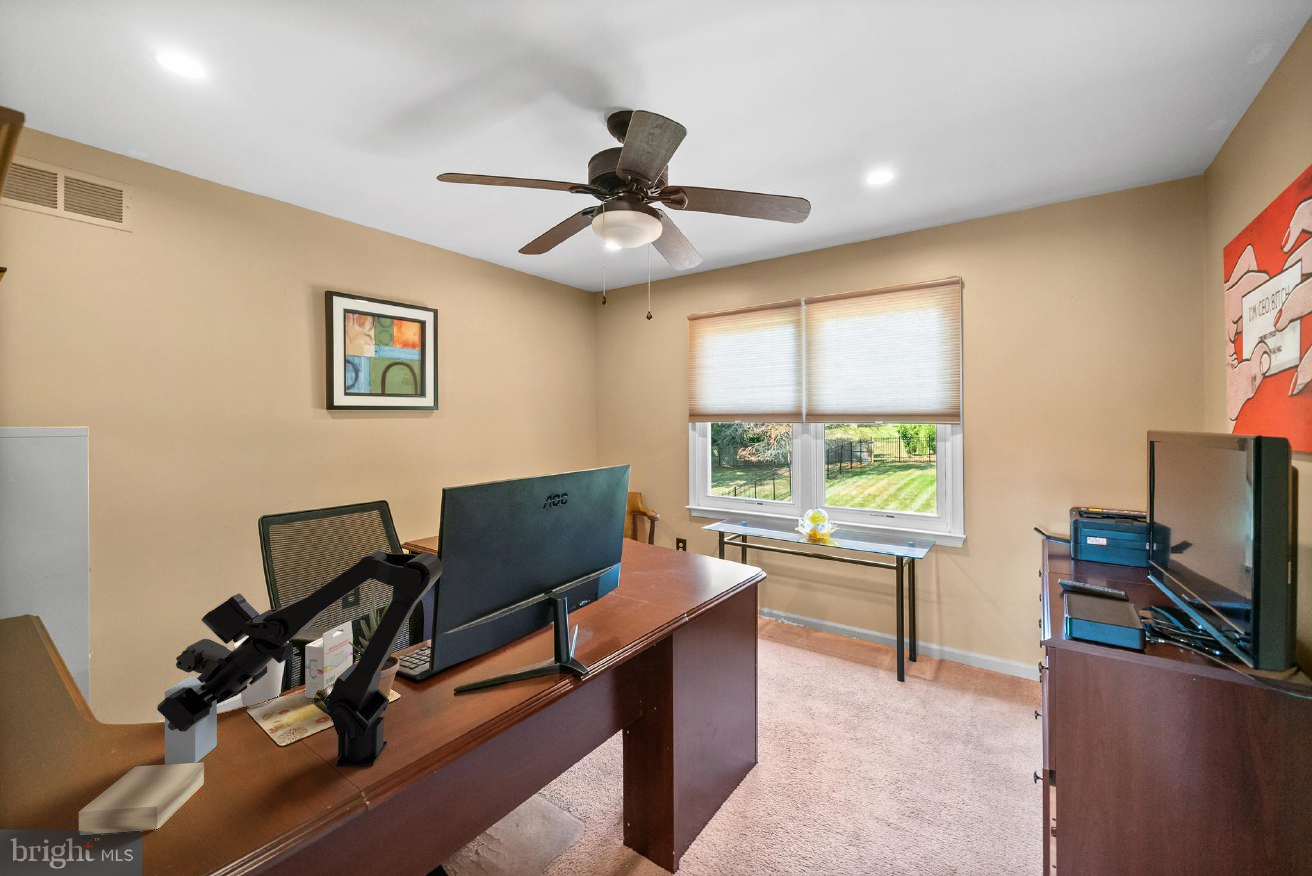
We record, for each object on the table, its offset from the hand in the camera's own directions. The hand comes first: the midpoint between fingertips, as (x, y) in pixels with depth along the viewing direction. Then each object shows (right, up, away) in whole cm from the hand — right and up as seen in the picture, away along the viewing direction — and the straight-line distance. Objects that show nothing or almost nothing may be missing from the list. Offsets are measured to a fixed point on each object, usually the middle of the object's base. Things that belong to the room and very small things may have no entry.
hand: (183, 718), depth 94 cm
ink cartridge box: (+11, -7, +24) cm, 27 cm away
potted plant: (+22, -7, +22) cm, 32 cm away
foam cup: (-1, -6, +19) cm, 20 cm away
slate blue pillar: (+1, -7, 0) cm, 7 cm away
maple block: (+5, -8, -12) cm, 15 cm away
